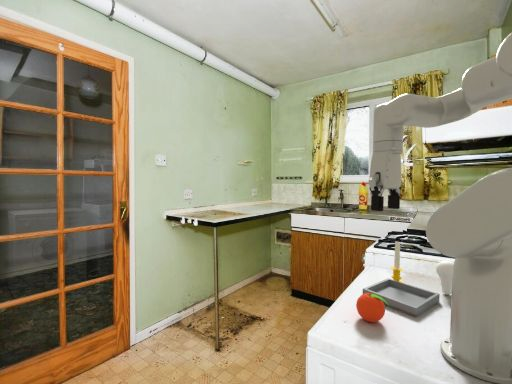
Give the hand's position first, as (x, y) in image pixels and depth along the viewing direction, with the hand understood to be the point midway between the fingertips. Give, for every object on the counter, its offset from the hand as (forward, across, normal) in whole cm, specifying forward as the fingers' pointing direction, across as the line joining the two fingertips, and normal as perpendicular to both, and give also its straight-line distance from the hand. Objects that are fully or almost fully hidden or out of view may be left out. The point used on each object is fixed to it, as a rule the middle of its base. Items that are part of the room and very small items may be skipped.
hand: (385, 209), depth 74 cm
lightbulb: (+29, -25, +8) cm, 39 cm away
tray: (+28, -10, +1) cm, 30 cm away
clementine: (+29, +10, +2) cm, 30 cm away
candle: (+29, -22, -6) cm, 36 cm away
